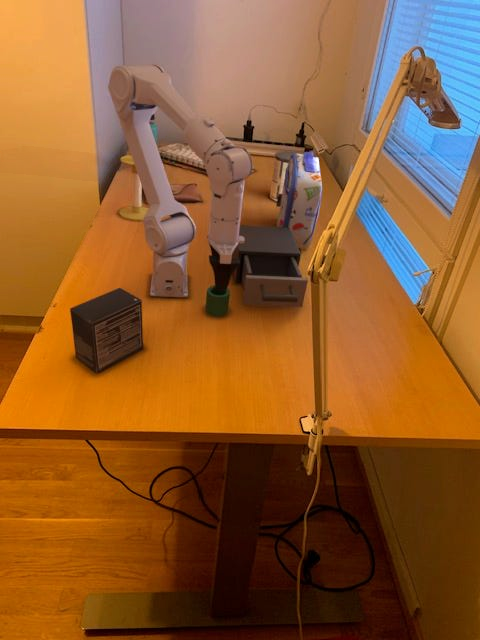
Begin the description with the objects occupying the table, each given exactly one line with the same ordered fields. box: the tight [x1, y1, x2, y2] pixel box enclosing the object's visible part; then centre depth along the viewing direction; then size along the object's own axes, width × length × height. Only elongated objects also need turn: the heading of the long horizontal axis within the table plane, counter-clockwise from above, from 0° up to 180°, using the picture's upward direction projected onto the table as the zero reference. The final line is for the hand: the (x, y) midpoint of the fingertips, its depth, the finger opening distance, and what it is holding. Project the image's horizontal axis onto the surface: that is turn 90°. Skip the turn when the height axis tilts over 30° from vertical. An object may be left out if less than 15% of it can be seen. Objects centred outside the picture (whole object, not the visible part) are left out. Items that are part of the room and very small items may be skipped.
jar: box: [205, 284, 231, 318], centre depth 101 cm, size 5×5×5 cm
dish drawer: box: [240, 254, 308, 308], centre depth 106 cm, size 19×13×7 cm
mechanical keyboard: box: [157, 142, 257, 175], centre depth 186 cm, size 38×19×3 cm, turn 61°
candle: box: [118, 154, 149, 221], centre depth 132 cm, size 10×10×32 cm
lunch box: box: [275, 151, 323, 250], centre depth 134 cm, size 28×10×22 cm, turn 176°
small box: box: [69, 287, 145, 374], centre depth 85 cm, size 11×6×10 cm, turn 141°
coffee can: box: [269, 150, 304, 202], centre depth 161 cm, size 10×10×14 cm
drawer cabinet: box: [232, 224, 302, 285], centre depth 118 cm, size 15×14×8 cm
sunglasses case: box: [141, 182, 203, 204], centre depth 153 cm, size 18×7×7 cm
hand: (219, 279), depth 99 cm, fingers open, 7 cm apart
